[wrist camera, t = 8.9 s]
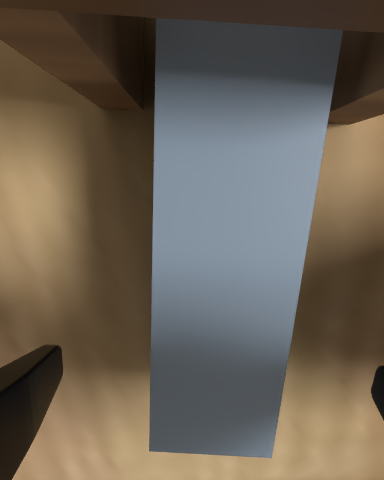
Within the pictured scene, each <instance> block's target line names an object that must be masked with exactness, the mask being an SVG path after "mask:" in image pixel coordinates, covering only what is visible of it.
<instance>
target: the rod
mask: <svg viewBox="0 0 384 480" xmlns="http://www.w3.org/2000/svg"><path fill="white" fill-rule="evenodd" d="M342 34H343V30H334V29H319V28H304V27H289V26H273V25H258V24H243V23H228V22H213V21H197V20H182V19H167V18H156V56H155V119H154V183H153V246H152V310H151V374H150V437H149V451H154V452H172V453H190V454H208V455H227V456H245V457H263V458H272V453H273V447H274V441H275V435H276V429H277V423H278V417H279V411H280V405H281V399H282V393H283V387H284V381H285V375H286V369H287V363H288V357H289V351H290V345H291V339H292V333H293V327H294V321H295V315H296V309H297V303H298V297H299V291H300V285H301V279H302V273H303V267H304V261H305V255H306V249H307V244H308V238H309V232H310V226H311V220H312V214H313V208H314V202H315V196H316V190H317V184H318V178H319V172H320V166H321V160H322V154H323V148H324V142H325V136H326V130H327V124H328V118H329V112H330V106H331V100H332V94H333V88H334V82H335V76H336V70H337V64H338V58H339V52H340V46H341V40H342Z"/></svg>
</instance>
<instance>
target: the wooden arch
mask: <svg viewBox="0 0 384 480" xmlns="http://www.w3.org/2000/svg"><path fill="white" fill-rule="evenodd" d="M144 17H152V18H167V19H182V20H197V21H213V22H228V23H243V24H258V25H273V26H289V27H304V28H319V29H334V30H343V34H342V40H341V46H340V52H339V58H338V64H337V70H336V76H335V82H334V88H333V94H332V100H331V106H330V112H329V118H328V123H343V124H353V123H356V122H360V121H363V120H366V119H369V118H372V117H376V116H379V115H382V114H384V0H0V39H1V40H2V41H4V42H5V43H7V44H8V45H9V46H11V47H12V48H14V49H15V50H17V51H18V52H20V53H21V54H23V55H24V56H26V57H27V58H29V59H30V60H31V61H33V62H34V63H36V64H37V65H39V66H40V67H42V68H43V69H45V70H46V71H48V72H49V73H51V74H52V75H53V76H55V77H56V78H58V79H59V80H61V81H62V82H64V83H65V84H67V85H68V86H70V87H71V88H73V89H74V90H75V91H77V92H78V93H80V94H81V95H83V96H84V97H86V98H87V99H89V100H90V101H92V102H93V103H94V104H96V105H97V106H99V107H100V108H112V109H127V110H143V49H144Z"/></svg>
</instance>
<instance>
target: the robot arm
mask: <svg viewBox="0 0 384 480" xmlns="http://www.w3.org/2000/svg"><path fill="white" fill-rule="evenodd" d="M62 374H63V362H62V350H61V347H60V346H59V345H43V346H41V347H40V348H38V349H36V350H34V351H32V352H30V353H28V354H26V355H24V356H22V357H20V358H19V359H17V360H15V361H13V362H11V363H9V364H7V365H5V366H3V367H1V368H0V480H12V478H13V477H14V475H15V473H16V471H17V469H18V468H19V466H20V464H21V462H22V460H23V459H24V457H25V455H26V453H27V451H28V450H29V448H30V446H31V444H32V442H33V440H34V438H35V436H36V434H37V432H38V430H39V428H40V426H41V423H42V421H43V419H44V417H45V414H46V412H47V410H48V408H49V405H50V403H51V401H52V399H53V396H54V394H55V392H56V390H57V387H58V385H59V383H60V381H61V378H62ZM371 394H372V398H373V400H374V402H375V404H376V406H377V408H378V410H379V412H380V414H381V416H382V418H383V420H384V365H381V366H379V367H378V368H377V370H376V373H375V377H374V380H373V384H372V387H371Z"/></svg>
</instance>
